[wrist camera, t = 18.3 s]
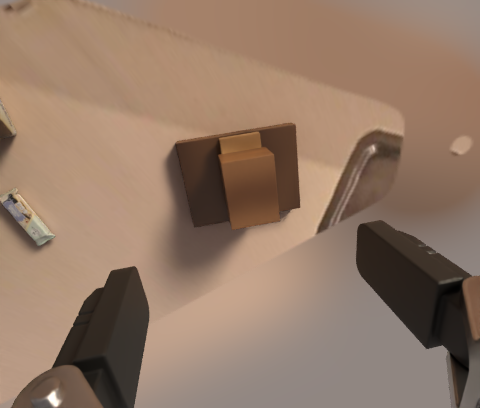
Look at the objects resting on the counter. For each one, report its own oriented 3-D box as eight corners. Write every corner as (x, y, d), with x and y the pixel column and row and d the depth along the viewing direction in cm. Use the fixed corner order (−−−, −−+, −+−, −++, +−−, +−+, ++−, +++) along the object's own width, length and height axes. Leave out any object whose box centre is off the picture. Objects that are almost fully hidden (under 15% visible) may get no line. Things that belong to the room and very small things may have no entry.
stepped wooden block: (214, 137, 31) (218, 147, 26) (260, 129, 31) (272, 138, 26) (228, 221, 35) (234, 243, 30) (269, 213, 35) (281, 233, 30)
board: (194, 222, 36) (194, 227, 34) (176, 141, 32) (175, 143, 30) (296, 203, 37) (300, 207, 36) (291, 122, 33) (295, 124, 32)
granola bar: (58, 235, 34) (54, 240, 33) (40, 243, 34) (36, 248, 33) (17, 186, 31) (12, 189, 30) (-2, 195, 31) (-8, 198, 30)
